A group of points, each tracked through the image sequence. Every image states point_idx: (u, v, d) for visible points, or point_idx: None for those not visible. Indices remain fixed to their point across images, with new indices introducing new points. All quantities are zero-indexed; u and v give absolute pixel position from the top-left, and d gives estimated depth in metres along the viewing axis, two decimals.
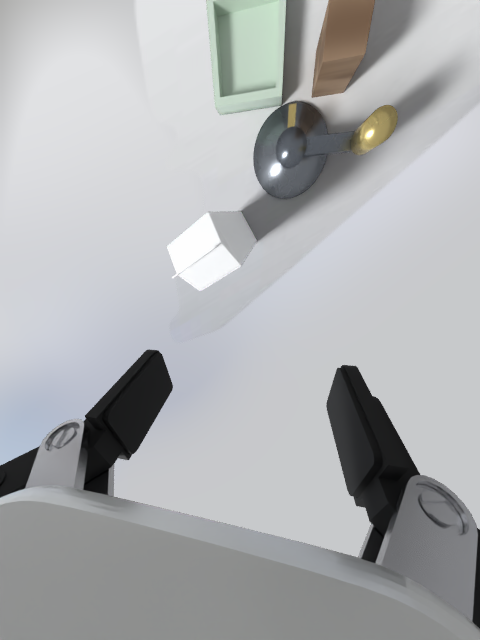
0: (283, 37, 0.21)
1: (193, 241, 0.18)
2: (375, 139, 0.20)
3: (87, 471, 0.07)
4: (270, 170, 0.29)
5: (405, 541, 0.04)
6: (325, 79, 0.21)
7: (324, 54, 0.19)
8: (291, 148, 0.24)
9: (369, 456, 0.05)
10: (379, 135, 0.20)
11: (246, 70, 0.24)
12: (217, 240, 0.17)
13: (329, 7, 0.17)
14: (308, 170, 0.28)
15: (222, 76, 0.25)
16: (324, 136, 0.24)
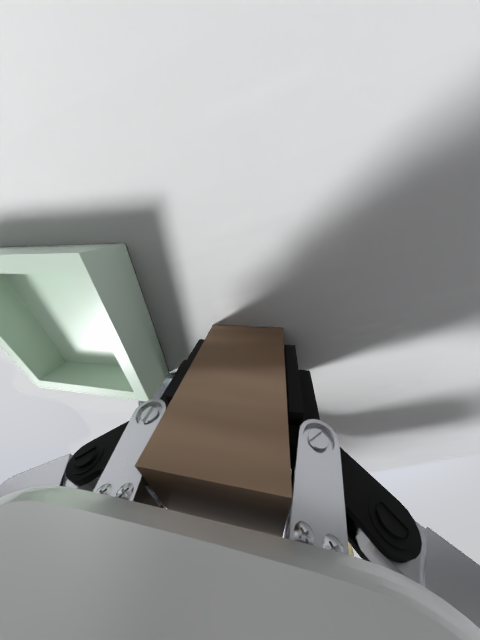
0: (120, 344, 0.09)
1: None
2: None
3: None
4: None
5: (303, 480, 0.05)
6: None
7: None
8: None
9: None
10: None
11: (86, 335, 0.12)
12: None
13: None
14: None
15: (47, 334, 0.13)
16: None
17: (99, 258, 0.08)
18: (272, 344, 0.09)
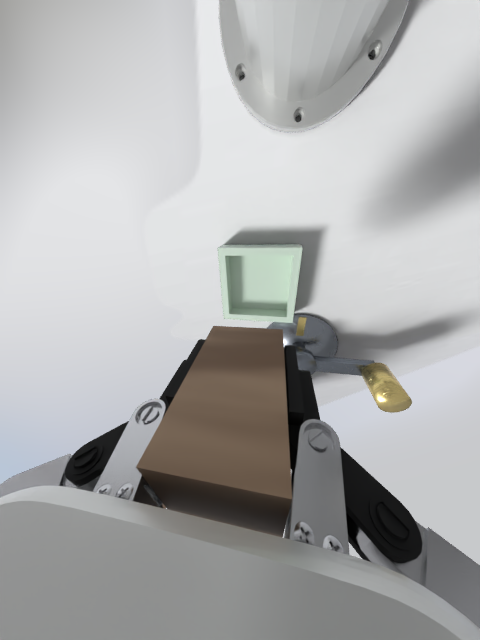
0: (296, 288, 0.21)
1: None
2: (388, 409, 0.20)
3: None
4: None
5: (304, 480, 0.05)
6: None
7: None
8: (300, 367, 0.24)
9: None
10: (392, 408, 0.19)
11: (256, 290, 0.24)
12: None
13: None
14: None
15: (231, 290, 0.24)
16: (334, 363, 0.23)
17: None
18: (272, 345, 0.09)
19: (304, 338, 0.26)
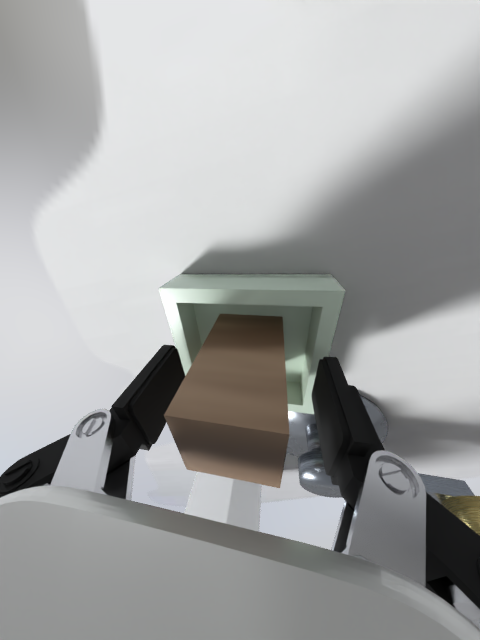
0: None
1: None
2: None
3: (110, 461, 0.07)
4: None
5: (370, 514, 0.04)
6: None
7: (186, 464, 0.08)
8: (328, 486, 0.13)
9: (340, 435, 0.06)
10: None
11: None
12: None
13: (171, 425, 0.06)
14: None
15: None
16: None
17: None
18: (273, 329, 0.10)
19: None
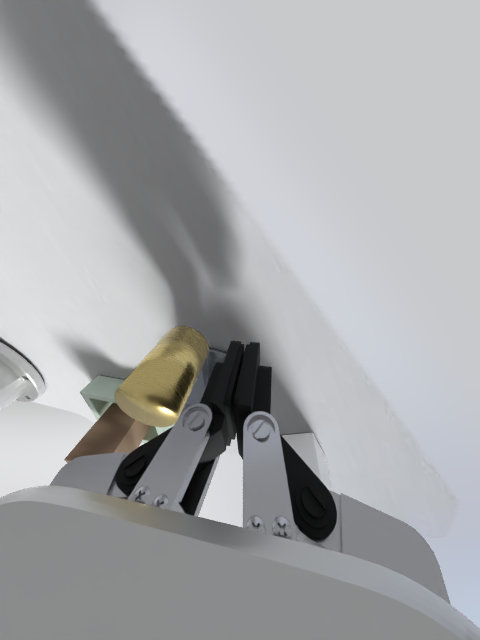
0: None
1: None
2: (169, 414, 0.08)
3: None
4: None
5: (251, 474, 0.05)
6: (134, 445, 0.21)
7: None
8: None
9: None
10: (161, 409, 0.08)
11: None
12: None
13: None
14: None
15: None
16: None
17: (88, 387, 0.21)
18: None
19: None
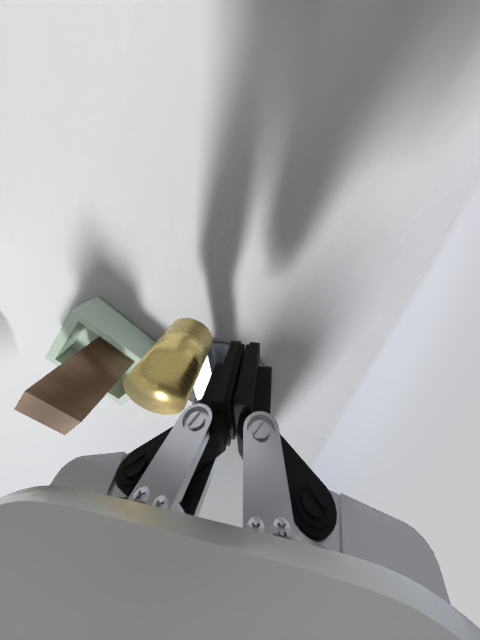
0: (119, 344, 0.16)
1: None
2: (176, 399, 0.08)
3: None
4: None
5: (251, 474, 0.05)
6: None
7: (59, 431, 0.15)
8: None
9: None
10: (169, 395, 0.08)
11: None
12: None
13: None
14: None
15: None
16: (194, 384, 0.15)
17: (84, 307, 0.15)
18: (91, 343, 0.17)
19: None
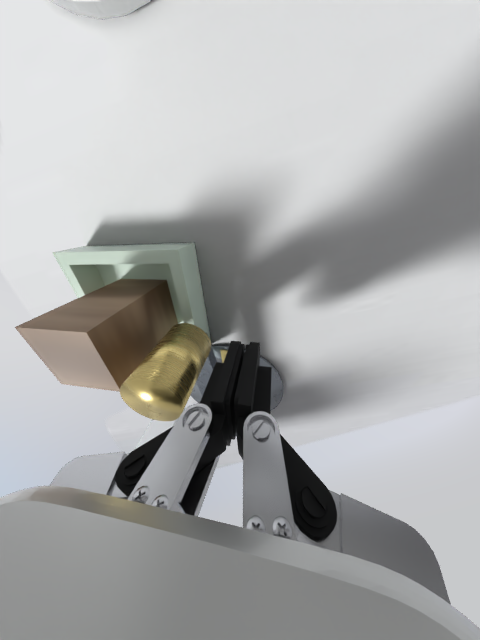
0: (190, 315, 0.13)
1: None
2: (172, 405, 0.08)
3: None
4: None
5: (251, 474, 0.05)
6: None
7: (58, 378, 0.10)
8: None
9: None
10: (164, 401, 0.08)
11: None
12: None
13: (26, 338, 0.09)
14: None
15: None
16: (201, 389, 0.15)
17: (184, 253, 0.11)
18: (148, 286, 0.13)
19: None
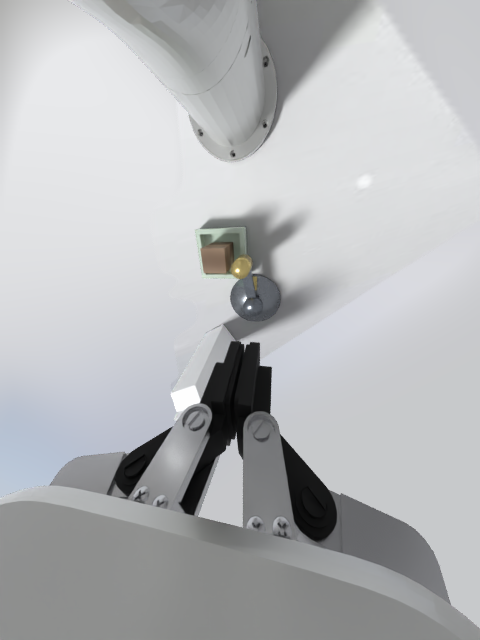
0: None
1: (186, 398, 0.30)
2: (246, 269, 0.29)
3: None
4: (242, 306, 0.41)
5: (251, 474, 0.05)
6: None
7: (203, 270, 0.31)
8: (253, 307, 0.37)
9: None
10: (244, 268, 0.29)
11: None
12: None
13: (201, 252, 0.30)
14: (268, 308, 0.41)
15: None
16: (245, 288, 0.35)
17: (244, 229, 0.32)
18: (228, 243, 0.33)
19: (257, 292, 0.39)
